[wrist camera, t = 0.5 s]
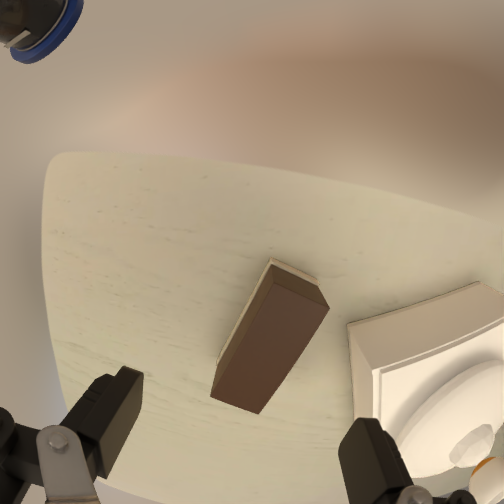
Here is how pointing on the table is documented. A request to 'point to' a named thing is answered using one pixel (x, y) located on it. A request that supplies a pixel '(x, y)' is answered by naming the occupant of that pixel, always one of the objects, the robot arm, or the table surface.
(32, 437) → the robot arm
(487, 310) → the white lidded box
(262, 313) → the brown block cream base
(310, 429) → the table surface
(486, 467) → the cup
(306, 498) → the table surface
